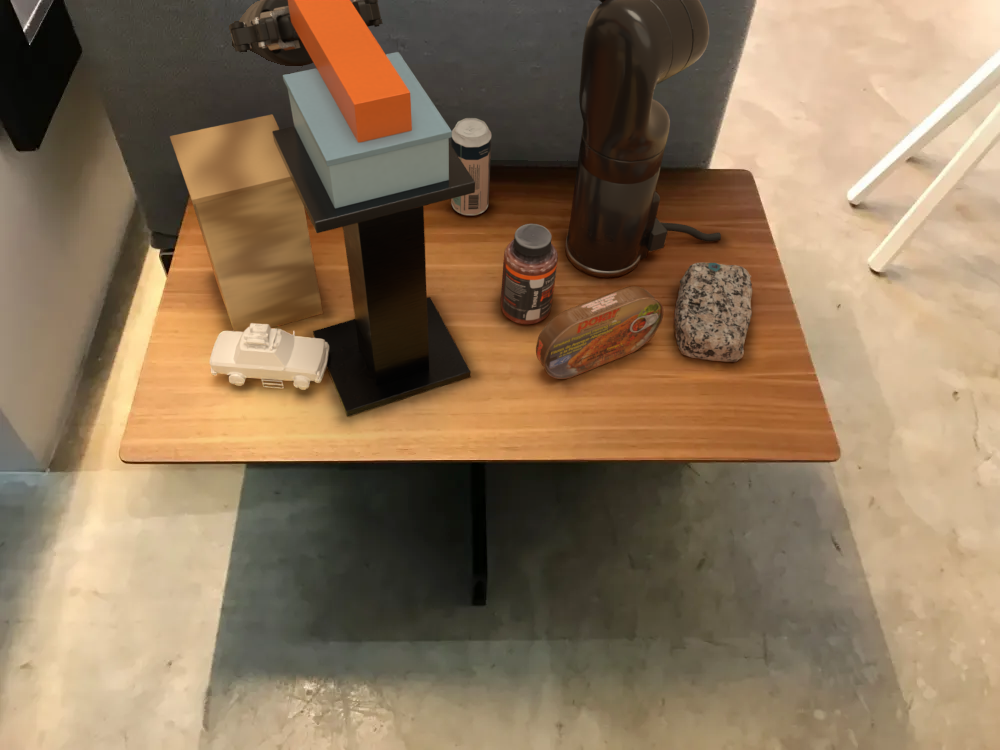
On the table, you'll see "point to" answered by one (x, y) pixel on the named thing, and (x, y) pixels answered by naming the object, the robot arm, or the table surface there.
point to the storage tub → (368, 142)
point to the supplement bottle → (529, 275)
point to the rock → (713, 311)
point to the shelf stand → (382, 287)
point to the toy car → (269, 356)
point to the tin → (598, 332)
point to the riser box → (250, 222)
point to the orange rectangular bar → (353, 67)
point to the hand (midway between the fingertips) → (318, 21)
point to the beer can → (473, 163)
